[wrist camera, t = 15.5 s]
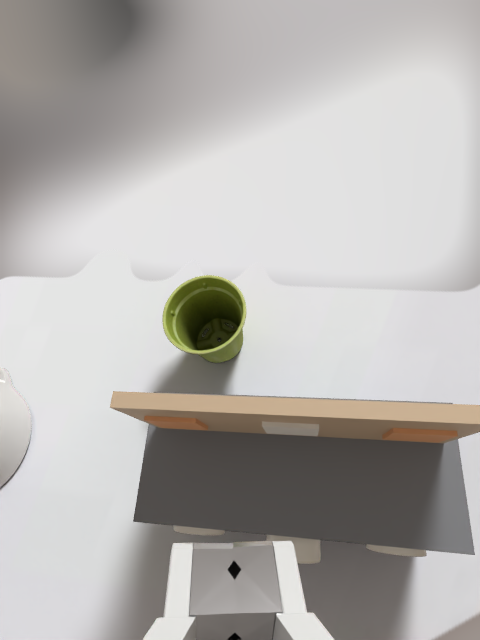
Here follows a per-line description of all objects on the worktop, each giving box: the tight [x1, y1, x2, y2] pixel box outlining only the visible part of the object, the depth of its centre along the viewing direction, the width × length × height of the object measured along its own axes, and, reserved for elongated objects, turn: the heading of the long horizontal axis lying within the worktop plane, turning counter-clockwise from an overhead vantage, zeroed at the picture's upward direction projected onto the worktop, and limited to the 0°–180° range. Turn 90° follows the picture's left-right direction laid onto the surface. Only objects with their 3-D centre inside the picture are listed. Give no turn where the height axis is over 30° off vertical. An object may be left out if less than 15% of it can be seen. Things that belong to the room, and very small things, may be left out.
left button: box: [173, 526, 225, 535], centre depth 34 cm, size 4×4×4 cm
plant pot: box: [163, 275, 246, 363], centre depth 46 cm, size 9×9×9 cm
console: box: [110, 391, 480, 555], centre depth 31 cm, size 24×10×23 cm, turn 86°
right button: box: [366, 544, 426, 557], centre depth 31 cm, size 4×4×4 cm
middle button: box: [266, 535, 321, 564], centre depth 32 cm, size 4×4×4 cm
